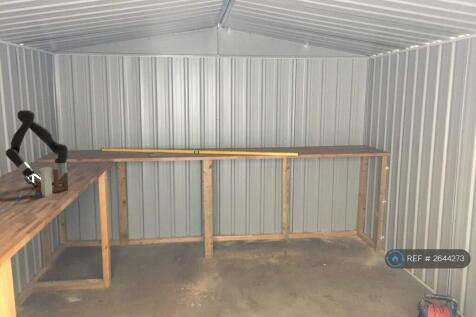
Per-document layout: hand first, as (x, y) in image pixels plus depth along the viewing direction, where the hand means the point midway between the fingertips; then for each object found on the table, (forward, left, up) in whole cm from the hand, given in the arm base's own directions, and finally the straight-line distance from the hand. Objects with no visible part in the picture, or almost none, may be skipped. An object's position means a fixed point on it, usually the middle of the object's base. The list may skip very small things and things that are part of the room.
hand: (40, 185), depth 317 cm
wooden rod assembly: (-16, +6, -7) cm, 19 cm away
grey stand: (0, +1, -7) cm, 7 cm away
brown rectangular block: (0, 0, -6) cm, 6 cm away
